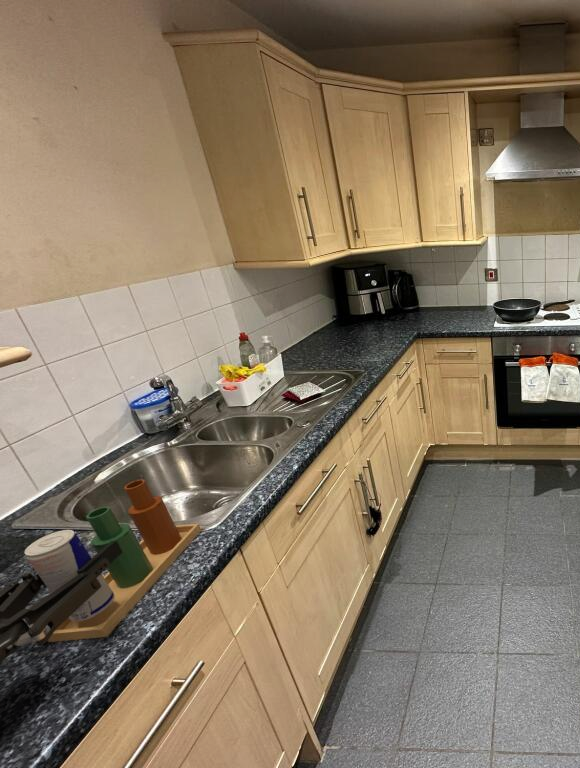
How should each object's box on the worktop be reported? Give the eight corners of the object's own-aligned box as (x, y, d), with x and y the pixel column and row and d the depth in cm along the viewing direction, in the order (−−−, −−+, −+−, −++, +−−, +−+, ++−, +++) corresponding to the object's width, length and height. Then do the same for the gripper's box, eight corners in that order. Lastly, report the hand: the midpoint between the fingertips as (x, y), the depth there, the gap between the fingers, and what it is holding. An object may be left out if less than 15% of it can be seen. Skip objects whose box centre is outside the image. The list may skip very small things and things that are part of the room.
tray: (49, 642, 66) (42, 634, 65) (159, 534, 88) (155, 527, 87) (106, 637, 66) (101, 629, 66) (202, 530, 89) (198, 523, 88)
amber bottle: (144, 557, 82) (109, 493, 76) (163, 538, 87) (131, 477, 81) (170, 555, 82) (137, 491, 76) (188, 536, 87) (158, 475, 81)
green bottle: (111, 591, 75) (68, 524, 69) (133, 568, 80) (96, 503, 73) (140, 588, 75) (100, 521, 69) (160, 566, 80) (125, 501, 73)
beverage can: (116, 607, 69) (73, 540, 63) (70, 630, 65) (20, 561, 60) (115, 588, 73) (75, 523, 67) (72, 609, 69) (25, 542, 63)
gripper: (-128, 719, 50) (54, 569, 72) (25, 704, 51) (161, 559, 72) (-171, 681, 48) (32, 536, 69) (-8, 666, 48) (144, 526, 69)
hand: (98, 548), depth 71 cm, fingers closed on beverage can, 6 cm apart
